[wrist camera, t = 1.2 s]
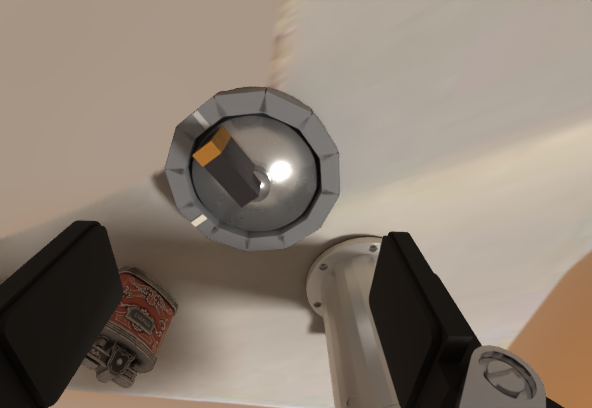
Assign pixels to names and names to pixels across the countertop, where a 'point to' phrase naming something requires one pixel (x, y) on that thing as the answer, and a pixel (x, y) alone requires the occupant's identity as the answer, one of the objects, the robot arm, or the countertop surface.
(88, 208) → the countertop surface
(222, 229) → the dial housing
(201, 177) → the dial
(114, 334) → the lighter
